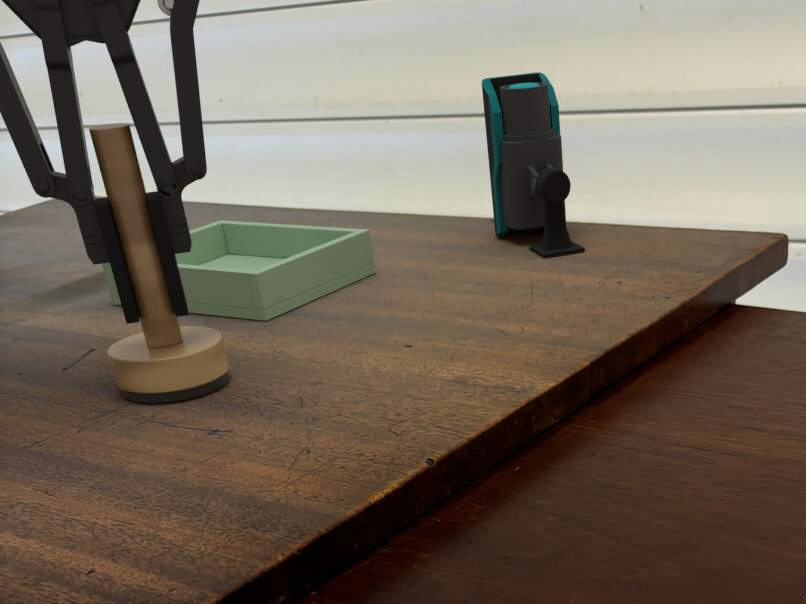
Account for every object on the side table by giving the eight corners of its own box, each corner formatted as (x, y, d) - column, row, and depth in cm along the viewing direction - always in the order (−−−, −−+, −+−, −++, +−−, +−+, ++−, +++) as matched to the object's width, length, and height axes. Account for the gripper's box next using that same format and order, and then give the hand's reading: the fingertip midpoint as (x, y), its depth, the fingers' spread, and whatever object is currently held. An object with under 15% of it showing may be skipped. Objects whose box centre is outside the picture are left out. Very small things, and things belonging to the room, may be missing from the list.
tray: (112, 304, 91) (100, 260, 89) (229, 261, 101) (220, 220, 99) (266, 321, 85) (256, 273, 83) (375, 273, 94) (369, 229, 92)
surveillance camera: (519, 90, 88) (478, 78, 95) (532, 259, 95) (493, 236, 102) (588, 81, 89) (543, 71, 97) (596, 249, 96) (553, 227, 104)
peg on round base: (95, 397, 73) (16, 136, 65) (174, 363, 78) (110, 115, 69) (178, 410, 70) (107, 138, 62) (254, 373, 75) (198, 116, 67)
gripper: (-150, -171, 53) (22, 349, 67) (190, -190, 56) (288, 311, 70) (-121, -160, 59) (31, 315, 73) (186, -178, 62) (276, 282, 76)
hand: (157, 313), depth 72 cm, fingers closed on peg on round base, 2 cm apart
